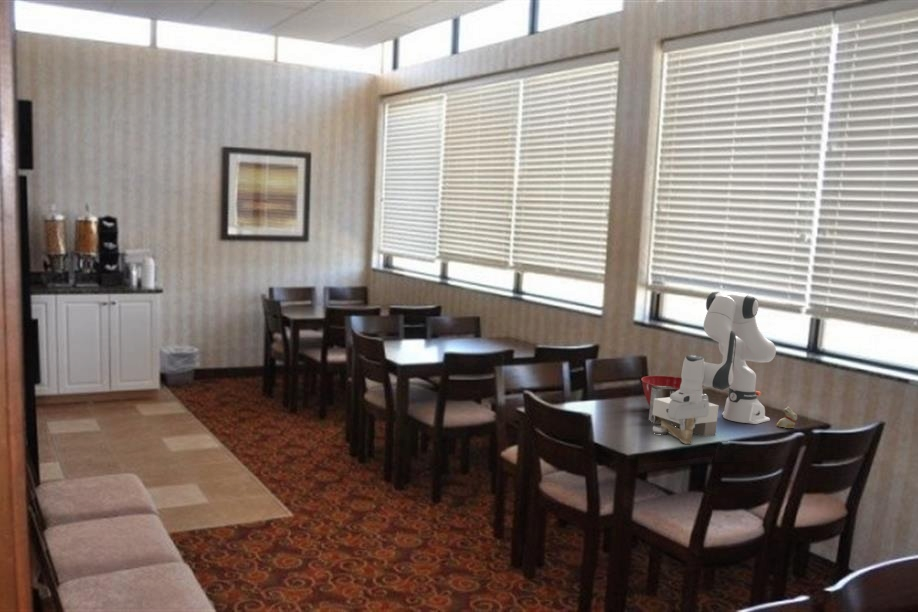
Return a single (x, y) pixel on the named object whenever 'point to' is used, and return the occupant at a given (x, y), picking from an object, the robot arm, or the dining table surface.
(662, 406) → the cabinet
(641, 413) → the dining table surface
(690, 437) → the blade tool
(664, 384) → the mixing bowl
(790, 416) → the chocolate bunny
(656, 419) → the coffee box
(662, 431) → the steel token
